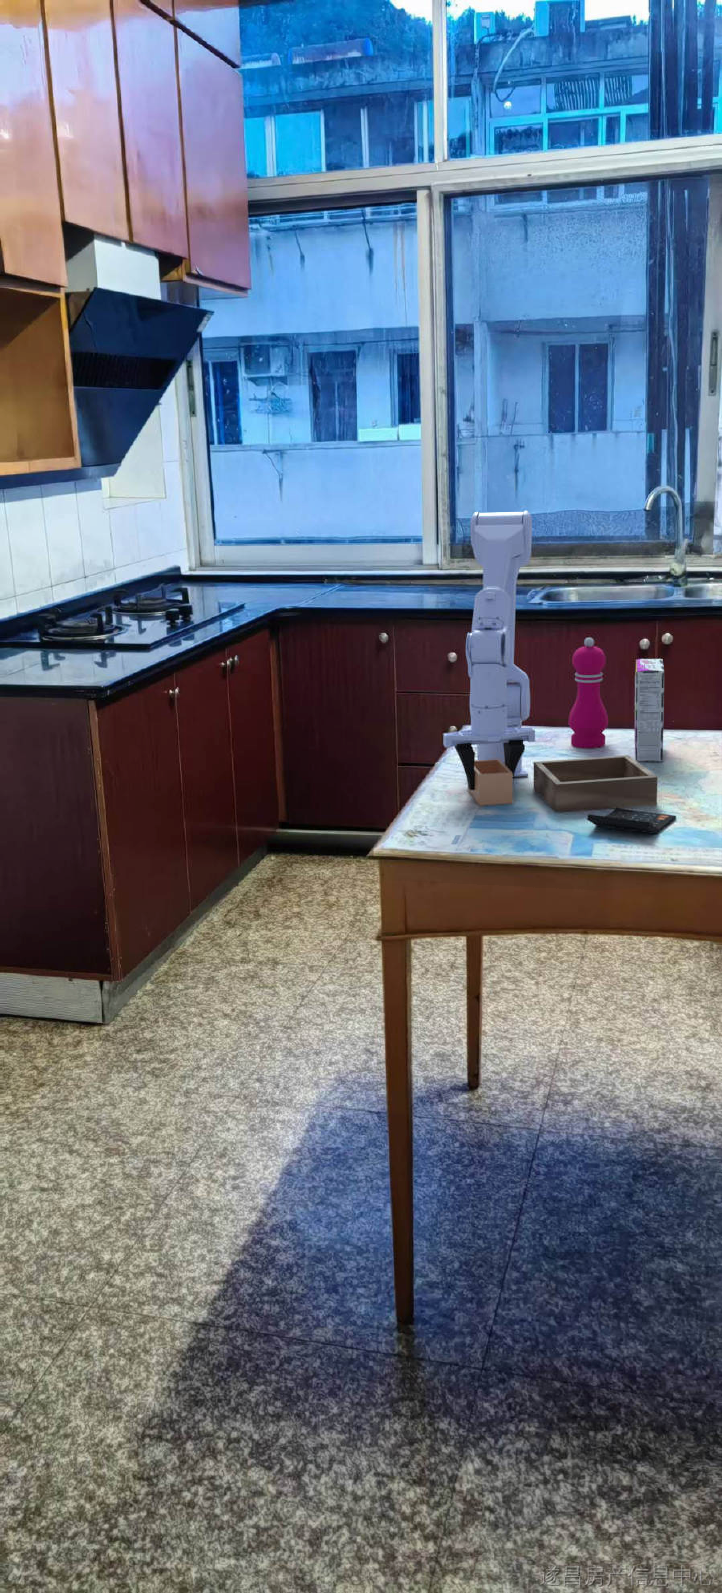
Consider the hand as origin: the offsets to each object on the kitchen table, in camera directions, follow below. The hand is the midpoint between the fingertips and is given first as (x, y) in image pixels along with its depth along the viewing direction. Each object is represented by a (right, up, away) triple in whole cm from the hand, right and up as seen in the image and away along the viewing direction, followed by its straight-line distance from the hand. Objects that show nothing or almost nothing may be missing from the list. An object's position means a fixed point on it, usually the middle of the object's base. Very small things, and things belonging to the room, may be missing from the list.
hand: (489, 787), depth 203 cm
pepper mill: (+21, +8, +31) cm, 38 cm away
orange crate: (0, -2, 0) cm, 2 cm away
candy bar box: (+31, +6, +22) cm, 38 cm away
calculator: (+19, -6, -17) cm, 26 cm away
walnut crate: (+16, -1, -2) cm, 17 cm away
